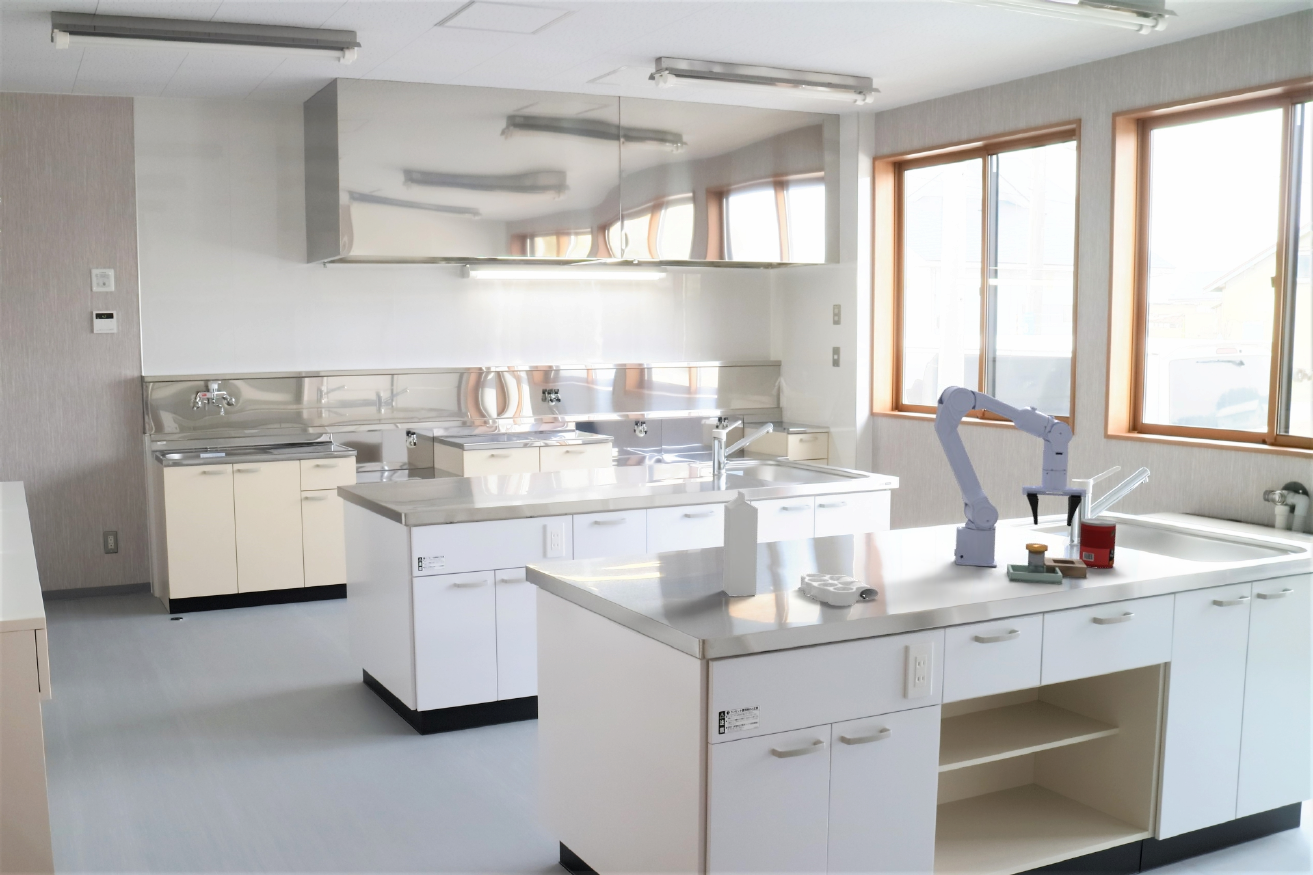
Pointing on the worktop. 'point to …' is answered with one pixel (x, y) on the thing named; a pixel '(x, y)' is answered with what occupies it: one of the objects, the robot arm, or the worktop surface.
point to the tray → (1033, 574)
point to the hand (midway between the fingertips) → (1052, 524)
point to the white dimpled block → (835, 589)
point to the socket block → (1067, 566)
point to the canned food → (1097, 542)
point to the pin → (1036, 557)
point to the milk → (740, 547)
